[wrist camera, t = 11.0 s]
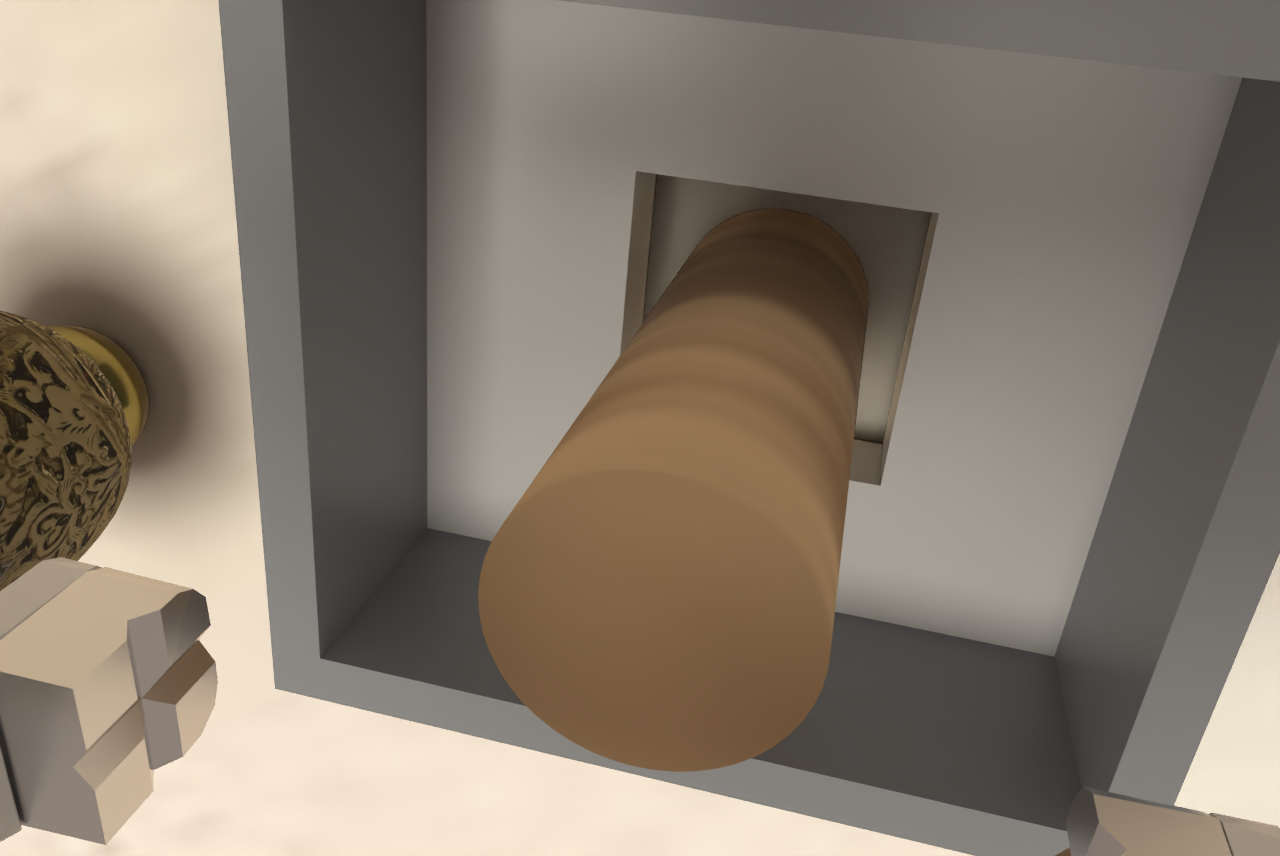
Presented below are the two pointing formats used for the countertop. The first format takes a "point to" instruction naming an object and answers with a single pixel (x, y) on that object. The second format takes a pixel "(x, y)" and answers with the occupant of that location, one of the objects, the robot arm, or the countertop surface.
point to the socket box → (880, 473)
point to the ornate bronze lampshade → (62, 439)
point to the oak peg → (694, 512)
